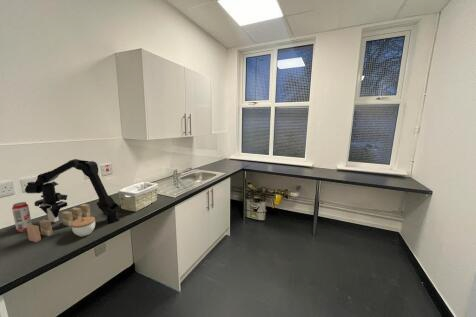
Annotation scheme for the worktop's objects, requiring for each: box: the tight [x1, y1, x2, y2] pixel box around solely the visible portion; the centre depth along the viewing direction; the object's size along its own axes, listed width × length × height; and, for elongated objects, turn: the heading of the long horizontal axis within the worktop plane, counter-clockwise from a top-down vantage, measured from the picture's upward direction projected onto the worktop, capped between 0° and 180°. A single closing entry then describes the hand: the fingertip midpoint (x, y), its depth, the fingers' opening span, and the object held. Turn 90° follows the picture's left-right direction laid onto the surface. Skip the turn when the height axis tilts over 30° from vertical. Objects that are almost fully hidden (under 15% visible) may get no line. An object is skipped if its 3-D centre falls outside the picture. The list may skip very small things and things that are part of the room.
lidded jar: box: [70, 216, 96, 237], centre depth 110 cm, size 11×11×9 cm
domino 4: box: [70, 207, 83, 221], centre depth 124 cm, size 2×5×8 cm, turn 76°
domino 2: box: [47, 206, 59, 223], centre depth 121 cm, size 2×5×8 cm, turn 76°
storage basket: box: [118, 181, 159, 212], centre depth 148 cm, size 24×16×15 cm
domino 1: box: [39, 219, 54, 237], centre depth 108 cm, size 2×5×8 cm, turn 76°
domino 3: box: [61, 210, 73, 227], centre depth 119 cm, size 2×5×8 cm, turn 76°
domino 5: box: [79, 203, 92, 218], centre depth 129 cm, size 2×5×8 cm, turn 76°
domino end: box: [26, 224, 42, 243], centre depth 103 cm, size 2×5×8 cm, turn 76°
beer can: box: [11, 201, 33, 233], centre depth 112 cm, size 6×6×16 cm
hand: (53, 216), depth 121 cm, fingers closed on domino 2, 5 cm apart
